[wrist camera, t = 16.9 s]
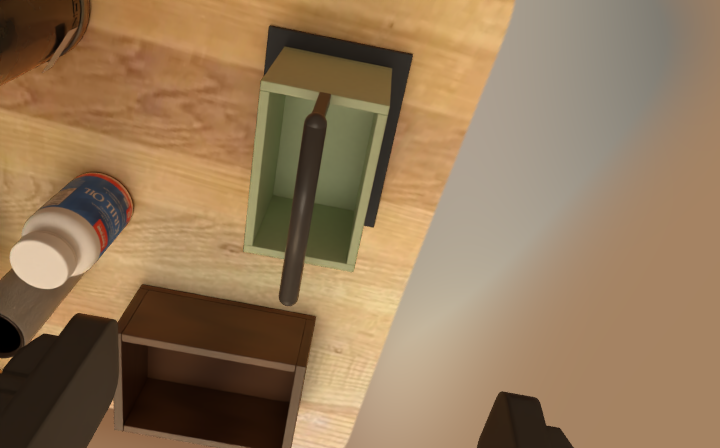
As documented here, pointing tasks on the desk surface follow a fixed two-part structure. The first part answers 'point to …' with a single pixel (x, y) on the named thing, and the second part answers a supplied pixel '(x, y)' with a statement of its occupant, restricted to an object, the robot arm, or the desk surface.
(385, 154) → the mat
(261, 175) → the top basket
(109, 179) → the pill bottle
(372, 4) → the desk surface
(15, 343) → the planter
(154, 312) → the open wooden box
